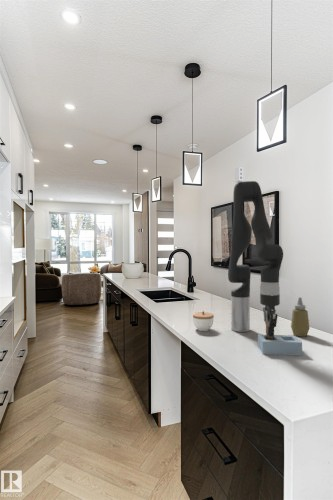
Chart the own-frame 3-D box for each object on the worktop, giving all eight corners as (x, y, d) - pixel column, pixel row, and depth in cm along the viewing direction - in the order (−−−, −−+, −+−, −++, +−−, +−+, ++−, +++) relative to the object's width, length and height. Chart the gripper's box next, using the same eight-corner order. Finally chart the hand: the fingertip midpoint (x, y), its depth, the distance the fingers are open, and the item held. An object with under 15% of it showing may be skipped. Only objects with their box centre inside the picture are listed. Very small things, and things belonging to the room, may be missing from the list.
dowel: (265, 338, 120) (265, 314, 120) (272, 338, 120) (272, 314, 120) (267, 341, 117) (267, 316, 117) (274, 341, 117) (274, 316, 117)
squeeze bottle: (299, 331, 144) (299, 295, 144) (313, 336, 136) (313, 298, 136) (287, 333, 141) (287, 296, 141) (300, 338, 133) (300, 299, 133)
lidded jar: (213, 333, 143) (213, 314, 143) (191, 331, 145) (191, 313, 145) (214, 327, 153) (214, 309, 153) (194, 326, 155) (193, 308, 155)
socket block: (257, 346, 123) (257, 334, 123) (294, 347, 122) (294, 335, 122) (262, 354, 114) (262, 341, 114) (302, 355, 113) (302, 342, 113)
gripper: (256, 290, 126) (257, 329, 126) (264, 295, 112) (264, 340, 112) (274, 290, 125) (274, 330, 125) (284, 295, 111) (284, 340, 111)
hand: (270, 334), depth 118 cm, fingers closed on dowel, 3 cm apart
